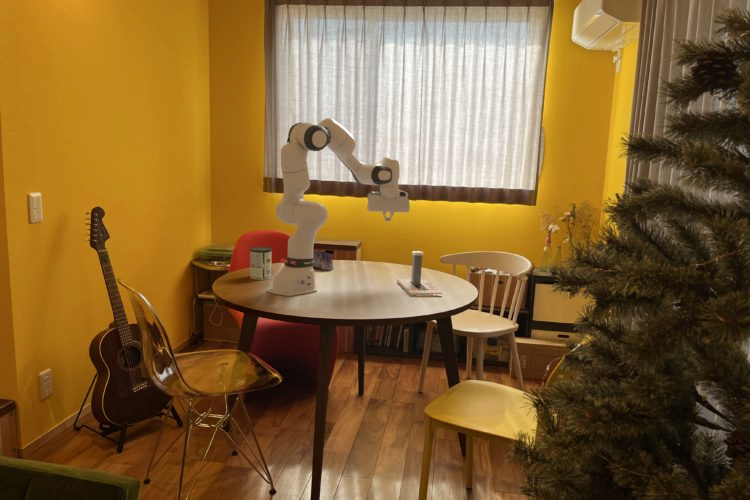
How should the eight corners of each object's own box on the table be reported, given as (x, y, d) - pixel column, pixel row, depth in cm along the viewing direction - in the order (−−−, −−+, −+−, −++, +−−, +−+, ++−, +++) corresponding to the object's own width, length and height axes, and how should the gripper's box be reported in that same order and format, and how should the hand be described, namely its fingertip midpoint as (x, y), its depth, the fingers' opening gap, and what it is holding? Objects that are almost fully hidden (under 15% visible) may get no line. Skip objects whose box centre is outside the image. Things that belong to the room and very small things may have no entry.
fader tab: (410, 284, 265) (411, 251, 263) (419, 284, 266) (421, 251, 264) (412, 286, 261) (414, 252, 259) (421, 287, 262) (423, 252, 259)
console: (397, 282, 271) (397, 278, 271) (425, 282, 274) (425, 279, 273) (410, 296, 244) (411, 292, 244) (441, 296, 247) (442, 292, 246)
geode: (341, 270, 294) (340, 252, 292) (321, 275, 289) (319, 256, 286) (325, 262, 311) (323, 244, 309) (305, 266, 306) (304, 248, 303)
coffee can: (253, 274, 273) (253, 246, 271) (274, 276, 272) (274, 247, 270) (246, 279, 263) (246, 249, 260) (268, 280, 262) (268, 250, 259)
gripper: (368, 191, 262) (367, 221, 264) (411, 193, 266) (409, 222, 268) (366, 191, 268) (365, 219, 270) (408, 192, 272) (406, 221, 274)
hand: (387, 221), depth 269 cm, fingers closed
